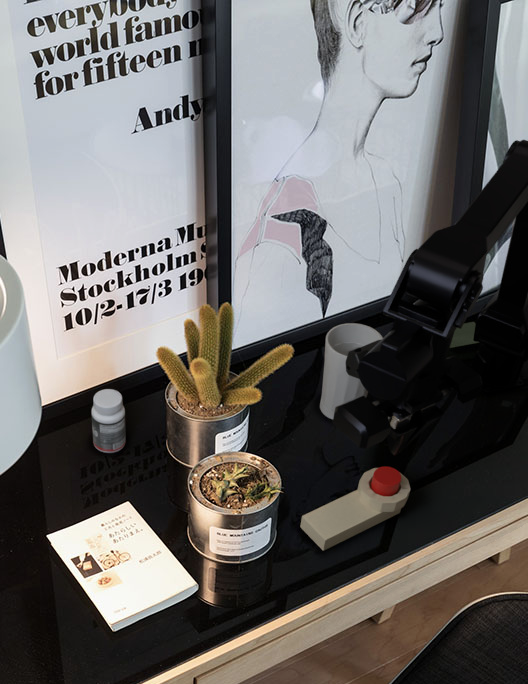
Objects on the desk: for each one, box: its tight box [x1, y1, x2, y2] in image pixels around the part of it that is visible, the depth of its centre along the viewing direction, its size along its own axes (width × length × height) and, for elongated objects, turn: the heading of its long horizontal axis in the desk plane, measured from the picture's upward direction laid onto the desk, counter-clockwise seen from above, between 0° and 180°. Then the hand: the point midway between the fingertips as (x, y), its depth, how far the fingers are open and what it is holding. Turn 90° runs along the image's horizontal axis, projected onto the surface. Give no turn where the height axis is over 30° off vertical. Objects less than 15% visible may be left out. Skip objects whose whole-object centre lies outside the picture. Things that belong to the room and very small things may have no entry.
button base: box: [299, 467, 411, 552], centre depth 125 cm, size 15×6×4 cm, turn 121°
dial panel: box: [447, 321, 481, 362], centre depth 147 cm, size 15×8×3 cm, turn 105°
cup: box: [319, 322, 384, 420], centre depth 136 cm, size 8×8×12 cm
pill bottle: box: [90, 388, 127, 454], centre depth 134 cm, size 5×5×8 cm
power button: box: [371, 466, 402, 496], centre depth 125 cm, size 4×4×2 cm
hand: (394, 452), depth 121 cm, fingers closed
